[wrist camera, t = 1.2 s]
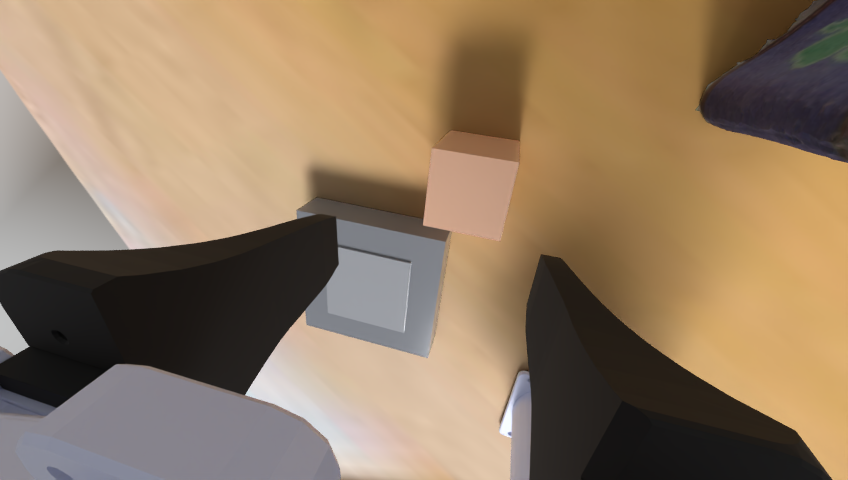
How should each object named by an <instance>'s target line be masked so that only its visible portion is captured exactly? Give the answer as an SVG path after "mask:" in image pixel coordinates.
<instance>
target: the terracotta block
mask: <svg viewBox="0 0 848 480" xmlns="http://www.w3.org/2000/svg"><path fill="white" fill-rule="evenodd" d="M519 160H520V141H517V140H511V139H504V138H498V137H492V136H485V135H479V134H472V133H466V132H459V131H453V130H451V131H450V132H448V133H447V134H446V135H445V136H444V137H443V138H442V139H441V140H440V141H439V142H438V143H437V144H436V145H434V146H433V147H432V150H431V159H430V167H429V176H428V185H427V194H426V203H425V212H424V220H423V225H424V226H428V227H433V228H438V229H443V230H448V231H452V232H457V233H462V234H467V235H472V236H477V237H481V238H486V239H491V240H496V241H500V240H501V236H502V232H503V228H504V224H505V220H506V216H507V212H508V208H509V203H510V199H511V195H512V191H513V187H514V183H515V179H516V175H517V171H518V167H519Z"/></svg>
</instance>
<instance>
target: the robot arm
mask: <svg viewBox="0 0 848 480" xmlns="http://www.w3.org/2000/svg"><path fill="white" fill-rule="evenodd" d="M338 265H339V258H338V239H337V221H336V216H330V215H325V214H316V215H311V216H307V217H303V218H299V219H296V220H292V221H289V222H285V223H282V224H278V225H275V226H272V227H268V228H264V229H260V230H257V231H253V232H249V233H245V234H241V235H237V236H233V237H228V238H223V239H218V240H212V241H207V242H201V243H194V244H186V245H178V246H170V247H161V248H148V249H133V250H112V251H111V250H110V251H52V252H47V253H44V254H41V255H38V256H36V257H33V258H31V259H28V260H26V261H24V262H21V263H18V264H16V265H14V266H11V267H8V268H6V269H4V270H1V271H0V303H1V304H2V306H3V308H4V310H5V311H6V313H7V314H8V316H9V317H10V319H11V320H12V321H13V323H14V324H15V326H16V328H17V329H18V331H19V332H20V333H21V335H22V336H23V338H24V339H25V341H26V342H27V344H28V345H29V346H30V347H28V348H26V349H25V350H23V351H21V352H19V353H18V354H16V355H13V354H12V353H11V352H9V351H8V350H7V349H5V348H2V347H0V480H341V477H340V468H339V465H338V462H337V459H336V457H335V455H334V453H333V450H332V448H331V446H330V444H329V442H328V440H327V439H326V438H325V437H324V436H323V435H322V434H321V433H320V432H319V431H317V430H316V429H315V428H314V427H313V426H312V425H311V424H310V423H309V422H308V421H306V420H305V419H304V418H302V417H300V416H298V415H296V414H293V413H291V412H289V411H287V410H285V409H283V408H281V407H279V406H277V405H274V404H271V403H268V402H265V401H261V400H258V399H255V398H252V397H248V396H245V394H246V392H247V391H248V389H249V387H250V386H251V384H252V383H253V381H254V379H255V378H256V376H257V375H258V373H259V372H260V370H261V368H262V367H263V365H264V364H265V362H266V361H267V359H268V358H269V356H270V355H271V353H272V352H273V350H274V349H275V347H276V346H277V344H278V343H279V342H280V340H281V339H282V337H283V336H284V335H285V334H286V332H287V331H288V330H289V328H290V327H291V326H292V325H293V324H294V323H295V321H296V320H297V319H298V318H299V317H300V316H301V314H302V313H303V312H304V311H305V310H306V309H307V307H308V306H309V305H310V304H311V303H312V302H313V300H314V299H315V298H316V297H317V296H318V294H319V293H320V292H321V291H322V290H323V288H324V287H325V286H326V285H327V283H328V282H329V280H330V278H331V277H332V275H333V274H334V272H335V270H336V268H337V267H338ZM526 342H527V354H528V365H529V372H528V371H520V372H519V373H518V375H517V378H516V381H515V384H514V387H513V390H512V392H511V395H510V398H509V401H508V404H507V407H506V410H505V413H504V415H503V418H502V421H501V424H500V427H499V432H500V433H501V434H502V435H505V436H508V437H511V469H510V480H832V479H831V477H830V476H829V475H828V473H827V472H826V471H825V469H824V468H823V467H822V465H821V464H820V463H819V461H818V460H817V459H816V457H815V456H814V455H813V453H812V452H811V451H810V449H809V448H808V447H807V445H806V444H805V443H804V441H803V440H802V439H801V437H800V436H799V435H798V433H797V432H796V431H795V430H793V429H791V428H789V427H787V426H785V425H783V424H782V423H780V422H778V421H776V420H774V419H772V418H770V417H768V416H766V415H765V414H763V413H761V412H759V411H757V410H755V409H753V408H751V407H749V406H747V405H746V404H744V403H742V402H740V401H738V400H736V399H734V398H732V397H731V396H729V395H727V394H725V393H724V392H722V391H720V390H719V389H717V388H715V387H714V386H712V385H710V384H709V383H707V382H705V381H704V380H702V379H700V378H699V377H697V376H695V375H694V374H692V373H691V372H689V371H688V370H686V369H684V368H683V367H681V366H680V365H678V364H677V363H675V362H674V361H672V360H671V359H670V358H668V357H667V356H665V355H664V354H662V353H661V352H660V351H658V350H657V349H655V348H654V347H652V346H651V345H650V344H648V343H647V342H646V341H644V340H643V339H642V338H641V337H639V336H638V335H637V334H636V333H635V332H633V331H632V330H631V329H630V328H628V327H627V326H626V325H625V324H624V323H622V322H621V321H620V320H619V319H618V318H617V317H616V316H615V315H613V314H612V313H611V312H610V311H609V310H608V309H607V308H606V307H605V306H604V305H603V304H602V303H601V302H600V301H599V300H598V299H597V298H596V297H595V296H594V295H593V294H592V293H591V292H590V291H589V289H588V288H587V287H586V286H585V285H584V284H583V283H582V282H581V280H580V279H579V278H578V277H577V276H576V275H575V274H574V272H573V271H572V270H571V269H570V268H569V267H568V265H567V264H566V263H565V262H564V261H563V260H562V259H561V258H558V257H552V256H547V255H541V256H540V260H539V263H538V267H537V270H536V274H535V277H534V281H533V284H532V288H531V292H530V295H529V299H528V302H527V311H526ZM529 378H530V379H529Z"/></svg>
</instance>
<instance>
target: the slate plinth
mask: <svg viewBox="0 0 848 480" xmlns="http://www.w3.org/2000/svg"><path fill="white" fill-rule="evenodd" d="M316 214H325V215H330V216H336V221H337V239H338V258H339V265H338V267H337V268H336V270H335V272H334V274H333V275H332V277H331V278H330V280H329V282H328V283H327V285H326V286H325V287H324V288H323V290H322V291H321V292H320V293H319V294H318V296H317V297H316V298H315V299H314V300H313V302H312V303H311V304H310V305H309V306H308V307H307V309H306V310H305V311H306V323H307V325H309V326H313V327H317V328H320V329H324V330H328V331H331V332H335V333H338V334H342V335H346V336H349V337H353V338H357V339H360V340H364V341H368V342H371V343H375V344H378V345H382V346H386V347H389V348H393V349H397V350H400V351H404V352H408V353H411V354H415V355H419V356H422V357H426V358H428V356H429V353H430V350H431V347H432V343H433V340H434V337H435V333H436V327H437V320H438V314H439V308H440V302H441V296H442V289H443V283H444V277H445V271H446V264H447V258H448V252H449V246H450V239H451V233H452V231H448V230H443V229H438V228H433V227H428V226H424V225H423V220H424V219H421V218H416V217H411V216H406V215H401V214H396V213H391V212H386V211H382V210H377V209H372V208H367V207H362V206H357V205H352V204H347V203H342V202H337V201H332V200H327V199H322V198H317V197H316V198H315V199H313V200H312V201H310V202H308V203H307V204H305V205H304V206H302V207H301V208H299V209H298V210H297V219H299V218H303V217H307V216H311V215H316Z"/></svg>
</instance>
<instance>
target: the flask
mask: <svg viewBox="0 0 848 480" xmlns="http://www.w3.org/2000/svg"><path fill="white" fill-rule="evenodd" d="M795 20H796V22H795V23H793V24H792V26H791V27H790V28H789V30H788V32H787V33H785V34H783V35H782V36H780V37H779V38H777V39H776V40H775V39H774V40H769V39H767V42H766V44H765V45H764V46H763V47H762V49H761V50H760V51H759V53H757V54H756V55H754V56H753V57H752V58H750V59H748V60H745V61H743V62H741V63H740V62H737V65H736V66H735V67H734V68H732V69H731V70H730V71H728V72H726V73H724V74H723V75H722V76H720V77H719V78H718V79H716V80H715V81H714V82H711V83H710V84H709V85H708V86H707V88H706V90H705V91H704V93H703V95H702V98H701V100H700V105H699V106H698V107H697V108H696V110H697V111H700V112H701V114H702V115H703V117H704V119H705V120H706V122H707V123H710V124H712V125H714V126H717V127H719V128H722V129H725V130H727V131H732V132H737V133H742V134H746V135H751V136H754V137H759V138H763V139H767V140H770V141H774V142H778V143H781V144H785V145H788V146H792V147H795V148H798V149H801V150H804V151H807V152H811V153H814V154H817V155H821V156H826V157H829V158H831V159H833V160H838V161H842V162H846V163H848V0H817V1H813V3H812V4H811V6H810V7H809V8H808V9H806V10H805V11H803V12H802V13H801V14H800V15H799V17H798V18H797V19H795Z"/></svg>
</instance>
